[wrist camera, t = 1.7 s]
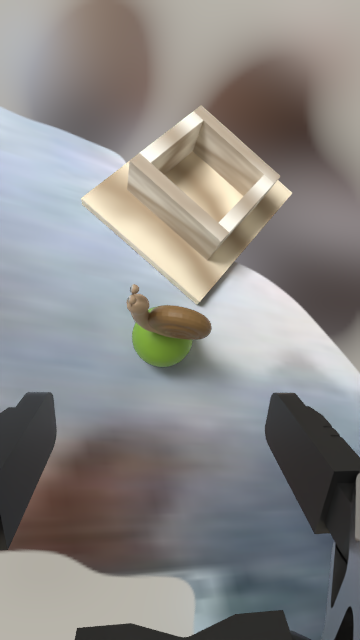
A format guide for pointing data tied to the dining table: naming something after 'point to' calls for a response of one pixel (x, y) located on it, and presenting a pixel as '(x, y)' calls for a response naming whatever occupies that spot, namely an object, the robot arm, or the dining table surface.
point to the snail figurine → (164, 330)
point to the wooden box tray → (190, 202)
